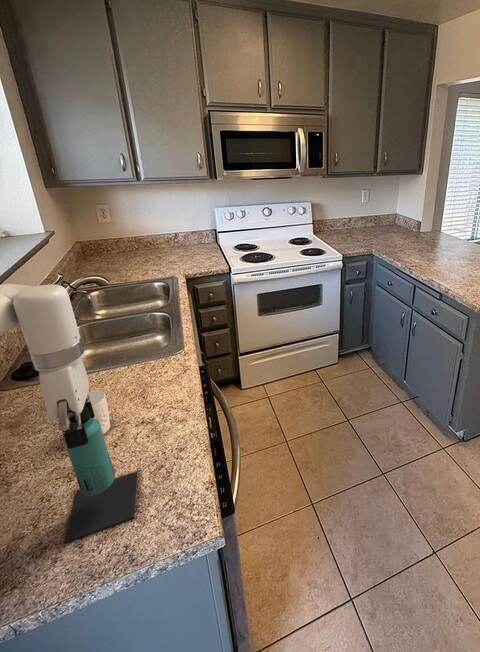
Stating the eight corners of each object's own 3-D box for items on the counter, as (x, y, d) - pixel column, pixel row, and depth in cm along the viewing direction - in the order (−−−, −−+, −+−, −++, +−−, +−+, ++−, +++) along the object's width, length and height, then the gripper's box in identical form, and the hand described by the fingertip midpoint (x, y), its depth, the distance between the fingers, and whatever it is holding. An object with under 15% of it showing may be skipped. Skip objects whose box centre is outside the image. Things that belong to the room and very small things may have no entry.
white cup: (76, 445, 92) (66, 413, 89) (82, 425, 99) (73, 395, 96) (111, 435, 95) (103, 404, 92) (114, 416, 102) (106, 387, 99)
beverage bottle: (122, 472, 78) (101, 397, 72) (110, 500, 72) (86, 420, 66) (90, 477, 77) (66, 401, 71) (75, 506, 71) (47, 425, 65)
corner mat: (65, 543, 69) (64, 542, 69) (77, 492, 79) (77, 490, 79) (134, 518, 73) (133, 516, 73) (137, 472, 84) (137, 471, 84)
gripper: (46, 335, 70) (69, 410, 76) (15, 385, 55) (47, 473, 61) (90, 328, 73) (109, 400, 79) (72, 373, 58) (97, 458, 64)
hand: (82, 431), depth 70 cm, fingers closed on beverage bottle, 6 cm apart
